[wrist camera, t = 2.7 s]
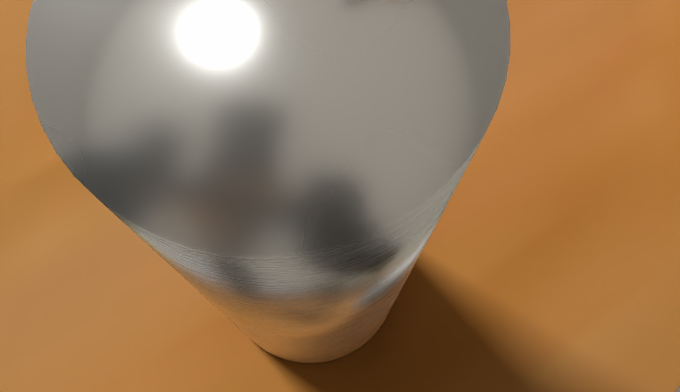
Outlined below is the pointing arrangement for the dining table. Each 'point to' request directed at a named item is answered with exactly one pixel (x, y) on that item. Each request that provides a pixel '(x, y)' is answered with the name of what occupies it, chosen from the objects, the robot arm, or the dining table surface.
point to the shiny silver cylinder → (274, 142)
